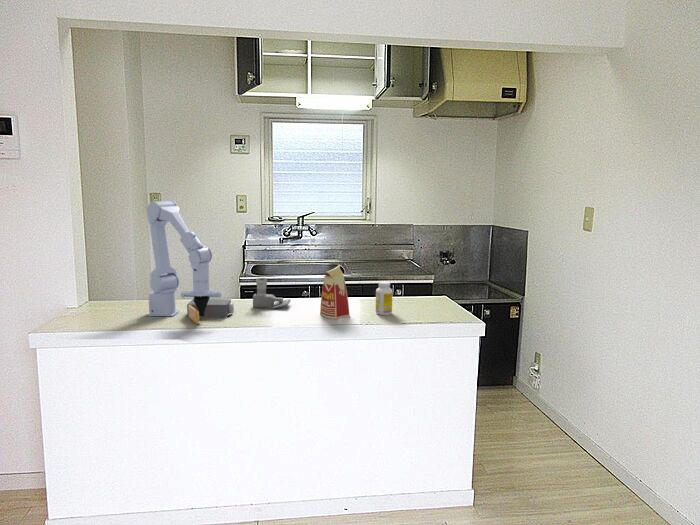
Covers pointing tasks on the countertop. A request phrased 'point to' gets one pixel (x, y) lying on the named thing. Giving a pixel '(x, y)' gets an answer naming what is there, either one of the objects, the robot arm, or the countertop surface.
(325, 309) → the milk carton
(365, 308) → the countertop surface
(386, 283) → the supplement bottle
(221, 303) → the camera case
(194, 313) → the case door
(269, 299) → the camera
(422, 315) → the countertop surface
